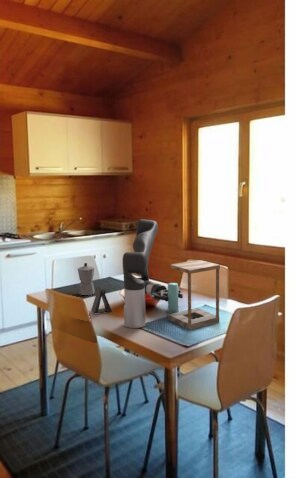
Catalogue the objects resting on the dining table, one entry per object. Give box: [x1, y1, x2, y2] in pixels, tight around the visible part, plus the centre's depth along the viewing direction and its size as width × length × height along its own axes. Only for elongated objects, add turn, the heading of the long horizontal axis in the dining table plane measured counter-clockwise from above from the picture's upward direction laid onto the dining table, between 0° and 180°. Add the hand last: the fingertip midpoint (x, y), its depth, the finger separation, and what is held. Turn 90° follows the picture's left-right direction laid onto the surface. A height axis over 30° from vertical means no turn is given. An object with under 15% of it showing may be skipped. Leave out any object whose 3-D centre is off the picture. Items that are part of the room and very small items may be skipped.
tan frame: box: [167, 259, 221, 331], centre depth 198 cm, size 16×17×27 cm
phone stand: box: [90, 286, 113, 314], centre depth 216 cm, size 9×6×12 cm, turn 111°
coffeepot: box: [77, 262, 96, 296], centre depth 248 cm, size 15×9×18 cm, turn 12°
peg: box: [167, 282, 179, 314], centre depth 212 cm, size 5×5×14 cm
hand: (175, 297), depth 211 cm, fingers open, 8 cm apart
